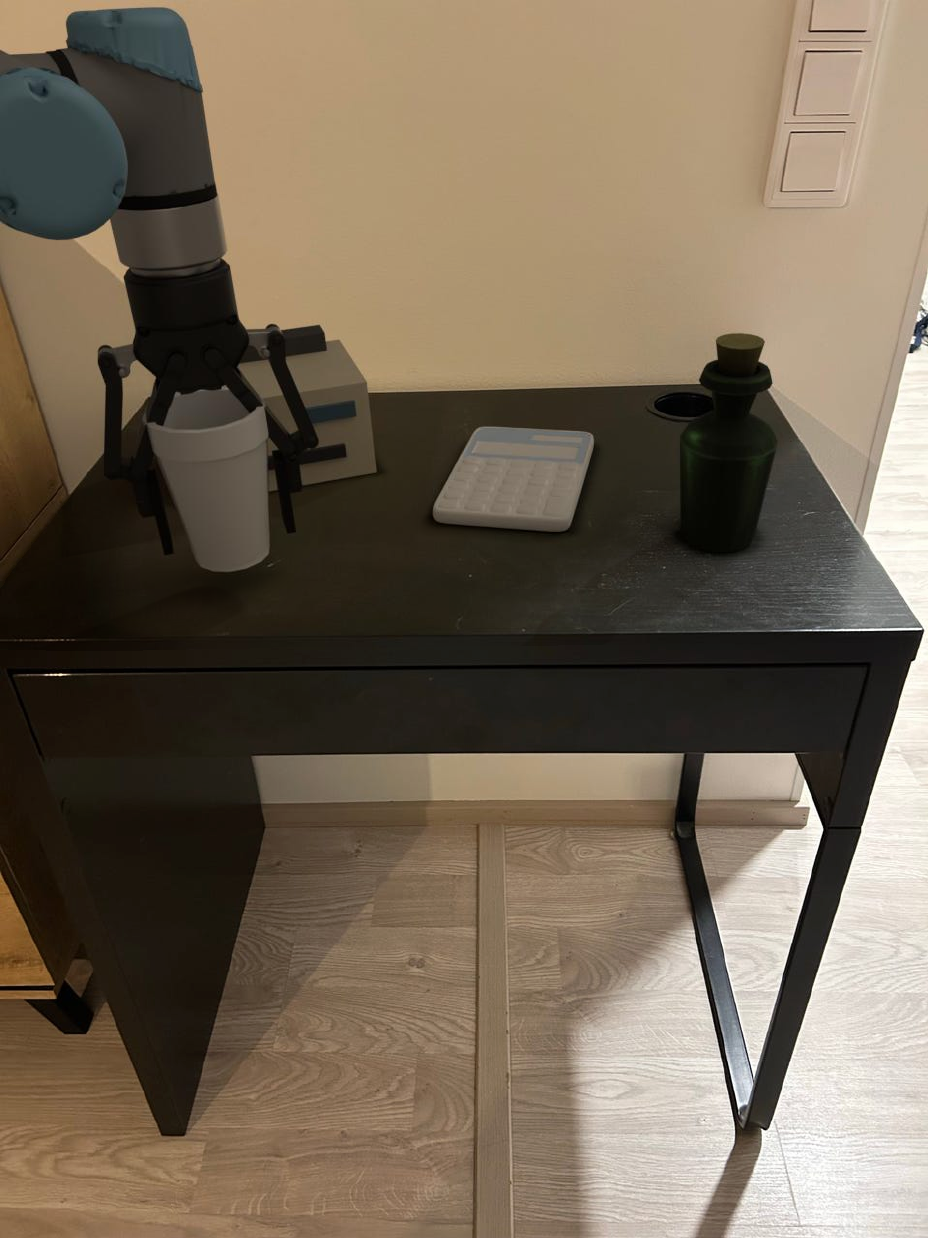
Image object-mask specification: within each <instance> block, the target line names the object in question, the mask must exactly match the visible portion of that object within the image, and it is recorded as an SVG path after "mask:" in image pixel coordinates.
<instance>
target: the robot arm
mask: <svg viewBox="0 0 928 1238" xmlns="http://www.w3.org/2000/svg"><path fill="white" fill-rule="evenodd" d="M65 28H66V34H67V37H66V40H65V44H66V47H64V48H57V49H55V50H47V51H45V52H36V53H35V52H34V53H32V52H31V53H13V54H10V53H8V52H5V51H4V50H2V49H0V223H1V224H3V225H4V226H7V227H8V228H10V229H13V230H15V231H17V232H21V233H24V234H27V235H30V236H33V237H37V238H41V239H46V240H51V241H70V240H75V239H79V238H82V237H85V236H88V235H90V234H92V233H94V232H96V231H97V230H99V229H100V228H101V227H103V226H104V225H105V224H106V223H107V222H109V223H110V226H111V229H112V230H111V231H112V235H113V240H114V244H115V248H116V252H117V256H118V261H119V262H120V264H122V265H123V266H124V267H127V269H126V270H125V274H124V275H123V277H122V278H123V283H124V286H125V291H126V295H127V299H128V304H129V308H130V312H131V316H132V322H133V325H134V330H135V332H134V337H133V340H132V343H129V344H125V345H121V346H116V347H112V346H111V345H109V344H103V345H100V346H99V347H98V349H97V367H98V369H99V372H100V374H101V377H102V380H103V383H104V386H105V393H104V397H105V398H104V431H103V432H104V433H103V475H104V477H105V478H106V479H107V480H109V481H116V480H117V479H120V480H125V481H127V482H129V483H130V485H131V487H132V491H133V494H134V498H135V502H136V506H137V509H138V513H139V514H140V516H141V517H142V518H143V519H144V518H150V517H151V518H152V517H154V518H155V522H156V526H157V530H158V531H157V532H158V534H159V538H160V543H161V547H162V552H163V556H170V555H174V553H175V552H174V545H173V544H174V543H173V537H172V532H171V529H170V525H169V520H168V517H167V512H166V508H165V503H164V499H163V495H162V490H161V487H160V482H159V478H158V474H157V470H156V468H150V467H151V464H152V462H153V458H154V456H155V454H154V452H153V449H152V445H151V441H150V437H149V432H148V428H147V424H146V425H143V421H142V422H141V425H140V429H139V431H138V434H137V438H136V441H135V443H134V446H133V449H132V453H131V456H130V458H128V457H122V437H123V436H122V433H123V432H122V431H123V403H124V389H123V388H124V385H123V379H125V378H128V377H129V376H130V374H131V366H132V364H133V363H134V362H136V361H137V362H138V363H140V364H141V366H143V367H144V368H145V369H146V370H147V371H149V373H150V374H152V375H153V376H154V377H155V379H154V382H153V385H152V390H151V393H150V396H149V400H148V403H147V407H146V408H145V411H146V420H147V423H151V422H155V423H156V424H157V425H159V426H163V425H164V422H165V419H166V416H167V413H168V410H169V408H170V407H171V405H172V402H173V399H174V396H175V393H176V392H179V393H180V394H181V395H184V394H191V393H194V392H196V391H198V390H210V391H213V390H220V389H222V386H224V385H226V386H227V388H228V389H229V390H230V391H231V393H232V394H233V395H234V396H235V397H236V398H237V399H238V400H239V401H240V402H241V403H242V405H243V406H244V407H245V408H246V410H247V411H248V412H249V413H250V414H251V413H252V412H253V411H255V410H256V407H261V406H263V404H262V401H261V399H260V396H259V395H258V393H257V392H256V391H255V390H254V388H253V387H252V386H251V384H250V383H249V382H248V381H247V379H246V378H245V376H244V375H243V373H242V372H241V371H240V369H239V368H238V365H239V363H240V361H241V359H242V357H243V355H244V353H245V352H246V350H247V348H248V346H253V347H255V348H256V349H257V352H258V354H259V356H260V357H261V358H264V359H268V361H269V363H270V366H271V368H272V370H273V373H274V375H275V377H276V380H277V382H278V384H279V386H280V389H281V391H282V393H283V396H284V398H285V400H286V403H287V405H288V407H289V409H290V412H291V414H292V416H293V419H294V421H295V423H296V426H297V428H298V431H296V432H294V433H292V434H289V433H288V431H287V430H286V429H285V427H284V426H283V425H282V424H281V422H280V421H279V420H278V419H277V417H276V416H275V415H274V414H273V412H272V411H271V410H270V409H269V407H268V406H267V405H266V407H264V409H265V416H266V422H267V428H268V437H269V438H270V439H271V441H272V442H273V443H274V444H275V445H276V447H277V448H278V449H279V450H273V451H272V456H273V463H274V469H275V475H276V481H277V488H278V490H277V493H278V500H279V505H280V506H279V507H280V513H281V516H282V517H281V518H282V522H283V525H284V528H285V531H286V534H287V535H288V534H289V535H290V534H293V533H294V534H295V533H297V529H296V523H295V516H294V509H293V502H292V497H291V494H293V493H298V492H299V493H300V492H302V488H303V486H302V480H301V472H300V465H299V458H300V454H301V453H302V452H303V451H304V450H306V449H308V448H310V449H313V448H315V447H317V446H318V444H319V439H318V437H317V434H316V432H315V430H314V427H313V425H312V422H311V420H310V418H309V415H308V413H307V411H306V408H305V406H304V404H303V401H302V399H301V396H300V394H299V392H298V389H297V387H296V385H295V382H294V380H293V378H292V375H291V373H290V370H289V368H288V366H287V363H286V352H285V339H284V336H283V334H282V332H281V330H282V329H281V328H280V327H279V326H278V325H277V324H276V323H269V324H267V325H266V327H265V328H246V327H245V325H244V324H243V322H242V321H241V320H240V317H239V312H238V311H239V310H238V306H237V305H238V304H237V299H236V292H235V288H234V282H233V281H234V280H233V275H232V270H231V265H230V264H229V262H227V261H226V260H225V259H223V257H224V256H225V255H226V253H227V252H228V245H227V239H226V238H227V237H226V233H225V228H224V227H225V226H224V220H223V215H222V209H221V203H220V197H219V193H218V190H217V189H218V188H217V184H216V181H215V174H214V173H215V172H214V167H213V160H212V154H211V145H210V140H209V133H208V126H207V119H206V113H205V106H204V100H203V99H204V98H203V93H204V90H203V85H202V83H201V79H200V75H199V69H198V66H197V61H196V58H195V52H194V47H193V44H192V41H191V36H190V32H189V29H188V26H187V24H186V21H185V20H184V18H183V17H182V16H181V15H180V14H179V13H178V12H176V11H175V10H173V9H172V8H169V7H163V6H161V7H159V6H158V7H157V6H156V7H155V6H150V7H149V6H148V7H146V6H145V7H126V8H105V9H94V10H93V9H92V10H77V11H76V10H75V11H72V12H70V14H69V15H68V16H67V17H66V20H65Z"/></svg>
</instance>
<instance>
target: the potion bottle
mask: <svg viewBox="0 0 928 1238" xmlns="http://www.w3.org/2000/svg"><path fill="white" fill-rule="evenodd" d="M765 343H766V341H765V340H764V338H763V337H762V336H759V335H755V334H752V333H742V332H738V333H737V332H733V333H726V334H722V335H720V336H717V337H716V339H715V346H716V357H717V359H713V360H712V361H710V362H707V363H706V364H705V365H704V367H703V369H702V372H701V374H700V375H699V379H698V381H699V384H700V386H702V387H703V388H704V389H706V390H708V391H711V393H710V394H711V398H712V405H713V410H711V411H709V412H706V413H704V414H701V415H699V416H697V417H694V418H693V419H691V420H690V421H689V423H688V424H687V425H686V427H685V428H684V429H683V431H682V433H681V434H680V435H679V504H680V505H679V513H680V514H679V517H680V519H679V521H680V522H679V523H680V525H679V527H680V528H679V529H680V533H681V537H682V538H683V539H684V540H685V541H686V542H687V543H688V544H689V545H691V546H692V547H694V548H696V549H698V550H701V551H705V552H706V551H707V552H710V553H733V552H736V551H740V550H742V549H744V548H746V547H747V546H749V545H750V544H752V543H753V541H754V538H755V536H756V533H757V528H758V525H759V520H760V516H761V512H762V508H763V504H764V500H765V496H766V492H767V488H768V484H769V480H770V476H771V472H772V468H773V464H774V460H775V457H776V452H777V448H778V445H779V441H778V439H777V436H776V434H775V432H774V429H773V427H772V426H771V424H770V423H768V422H767V421H765V420H764V419H762V418H760V417H758V416H757V415H755V414H753V413H752V412H751V409H752V407H753V405H754V403H755V400H756V397H757V395H758V394H760V393H764V392H765V391H767V390H770V389H771V387H772V385H773V378H772V374H771V369H770V368H769V366H768V365H767V364H765V363H764V362H761V361H760V358H761V355H762V353H763V349H764V347H765Z"/></svg>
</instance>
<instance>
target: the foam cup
mask: <svg viewBox="0 0 928 1238" xmlns="http://www.w3.org/2000/svg"><path fill="white" fill-rule="evenodd" d="M258 395H259V394H258ZM259 396H260V395H259ZM260 399H261V401H262V404H263V406H261V407H256V410H255V411H253V412H252V413H251V414H250V413H249V412H248V411H247V410H246V408H245V407H244V406H243V405H242V403H241V402H240V401H239V400H238V399H237V398H236V397H235V396H234V395H233V394H232V393H231V391H230V390H229V389H228V388H227V387H222V389H220V390H213V391H210V390H198V391H196V392H194V393H191V394H184V395H181V394H180V393H178V394H175V396H174V399H173V402H172V405H171V407H170V408H169V410H168V413H167V416H166V419H165V422H164V425H163V426H159V425H157V424H156V423H155V422H151V423H147V420H146V410H145V411H144V413H143V415H142V418H141V420H142V422H143V425H146V424H147V428H148V432H149V437H150V441H151V445H152V449H153V452H154V457H155V459H156V462H157V464H158V468H159V471H160V473H161V475H162V477H163V480H164V482H165V485H166V488H167V490H168V493H169V495H170V499H171V501H172V503H173V506H174V508H175V509H174V510H175V511H176V514H177V517H178V520H179V521H180V524H181V527H182V529H183V532H184V534H185V537H186V539H187V542H188V544H189V547H190V550H191V553H192V554H193V556H194V559H195V562H196V563H197V564H198V566H200V568H202V569H206V570H209V571H211V572H221V573H223V572H225V573H231V572H236V571H241V570H245V569H248V568H251V567H253V566H255V565H257V564H260V563H261V562H262V561H263V560H264V559H265V558H266V557H267V556H268V555H269V554H270V548H271V544H270V540H271V532H270V531H271V528H270V527H271V526H270V491H269V485H268V444H267V438H268V428H267V422H266V416H265V409H264V407H266V402H265V399H264V398H262V397H261V396H260Z"/></svg>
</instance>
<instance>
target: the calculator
mask: <svg viewBox="0 0 928 1238" xmlns="http://www.w3.org/2000/svg"><path fill="white" fill-rule="evenodd" d="M594 438H595V437H594V435H593V434H592V433H591V432H588V431H579V430H565V429H564V430H561V429H543V428H542V429H541V428H527V427H525V428H523V427H508V426H507V427H506V426H505V427H504V426H479V427H477V428H476V429H475V430H474V431H473V433H472V434H471V436H470V438H469V439H468V441H467V443H466V444H465V446H464V448H463V450H462V452H461V454H460V455H459V458H458V460H457V461H456V463H455V465H454V466H453V469H452V471H451V472H450V474H449V476H448V477H447V480H446V482H445V483H444V484H443V487H442V489H441V490H440V492H439V494H438V496H437V498H436V500H435V502H434V504H433V507H432V517H433V519H434V521H436V522H437V523H440V524H447V525H456V526H457V525H458V526H472V527H484V528H498V529H511V530H525V531H536V532H537V531H538V532H548V533H549V532H553V533H561V532H562V533H563V532H565V531H567V530H568V529H569V528H570V527H571V525H572V521H573V519H574V515H575V512H576V509H577V505H578V502H579V498H580V495H581V491H582V488H583V485H584V481H585V478H586V474H587V471H588V468H589V465H590V461H591V457H592V455H593V451H594V446H595V439H594Z"/></svg>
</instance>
